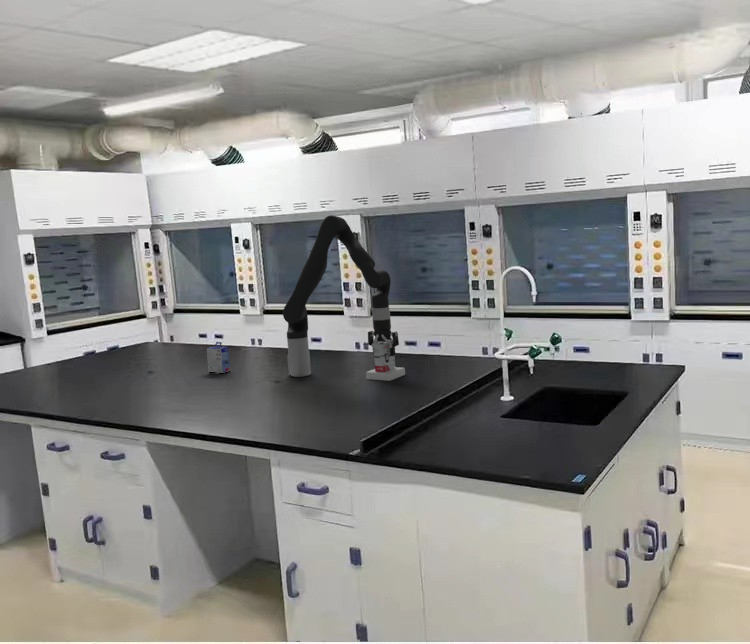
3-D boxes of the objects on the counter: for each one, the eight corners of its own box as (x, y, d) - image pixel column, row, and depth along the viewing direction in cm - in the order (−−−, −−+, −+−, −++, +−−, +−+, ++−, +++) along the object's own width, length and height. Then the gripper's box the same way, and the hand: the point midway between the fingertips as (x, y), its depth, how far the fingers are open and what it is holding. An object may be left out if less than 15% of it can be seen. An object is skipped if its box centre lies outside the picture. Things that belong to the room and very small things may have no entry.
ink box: (383, 372, 308) (381, 344, 307) (374, 371, 311) (372, 344, 310) (396, 368, 315) (394, 341, 313) (386, 367, 318) (384, 340, 316)
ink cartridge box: (231, 371, 351) (228, 341, 349) (223, 374, 346) (220, 344, 344) (216, 370, 356) (213, 341, 354) (208, 373, 351) (205, 343, 349)
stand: (366, 379, 312) (365, 372, 312) (382, 372, 322) (381, 366, 322) (389, 380, 305) (389, 373, 305) (405, 374, 315) (404, 367, 315)
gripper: (400, 317, 309) (403, 354, 311) (372, 316, 317) (375, 353, 319) (390, 319, 303) (393, 358, 305) (362, 319, 311) (365, 356, 313)
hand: (384, 355), depth 312 cm, fingers open, 8 cm apart
